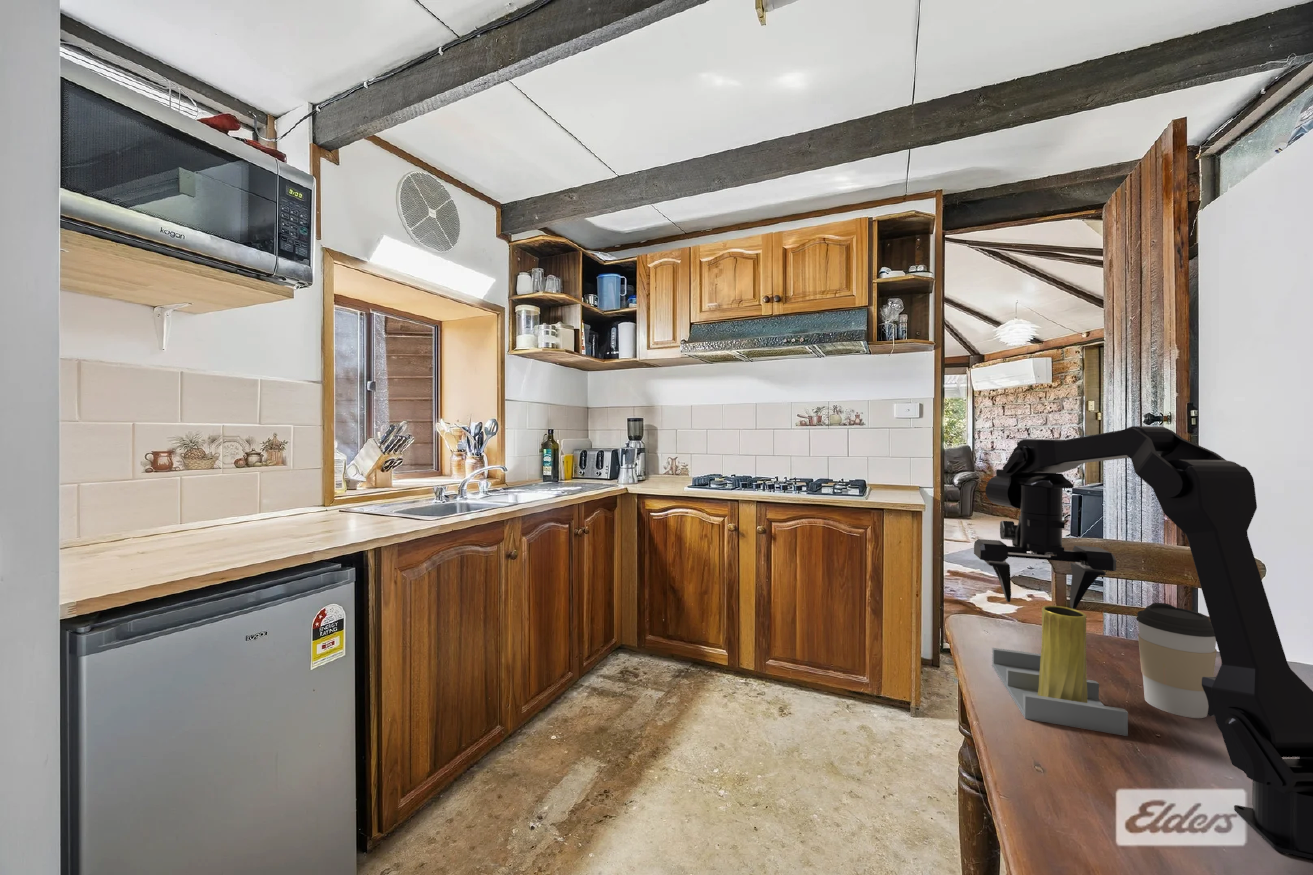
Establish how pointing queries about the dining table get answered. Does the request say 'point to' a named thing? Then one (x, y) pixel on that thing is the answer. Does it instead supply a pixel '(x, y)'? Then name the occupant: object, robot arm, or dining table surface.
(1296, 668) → the dining table surface
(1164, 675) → the coffee cup
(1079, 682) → the vase
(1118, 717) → the tiered shelf
